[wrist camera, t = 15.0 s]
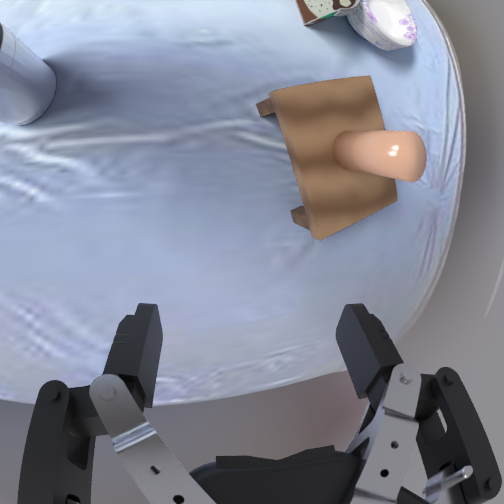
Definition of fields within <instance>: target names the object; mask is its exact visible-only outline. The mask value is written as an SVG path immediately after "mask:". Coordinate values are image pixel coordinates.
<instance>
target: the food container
mask: <svg viewBox="0 0 504 504" xmlns="http://www.w3.org/2000/svg"><path fill="white" fill-rule="evenodd" d="M359 1H360V0H295V3H296V5H297V8H298V11H299V13H300V16H301V19H302V21H303V24H304V26H305V25H312V24H314V23H317V22H319V21H322V20H324V19H326V18H329V17H331V16H344V15H347V14H349V13H350V12H352V11H353V10H354V9H355V8H356V7H357V5H358V3H359Z"/></svg>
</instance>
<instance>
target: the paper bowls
mask: <svg viewBox="0 0 504 504" xmlns="http://www.w3.org/2000/svg"><path fill="white" fill-rule="evenodd" d="M347 18H348V20H349V22H350V24H351V26H352V27H353V28H354V29H355V31H356V32H357V33H358V34H359V35H361V36H362V37H363V38H365V39H366V40H367V41H369V42H370V43H371V44H373V45H374V46H376V47H378V48H380V49H383V50H386V51H391V50H396V49H400V48H405V47H409V46H411V45H413V44H414V43H415V41H416V39H417V26H416V22H415V19H414V17H413V14H412V12H411V10H410V8H409V7H408V5H407V4H406V2H405V1H404V0H360V1H359V3H358V5H357V7H356V8H355V9H354V10H353V11H352V12H350V13H349V14H347Z"/></svg>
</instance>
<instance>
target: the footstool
mask: <svg viewBox="0 0 504 504" xmlns="http://www.w3.org/2000/svg"><path fill="white" fill-rule="evenodd" d="M269 96H270V98H269V99H266V100H264V101H262V102H260V103H258V104H256V105H257V108H258V111H259V114H260V117H262V116H265V115H269V114H272V113H276V116H277V119H278V122H279V125H280V128H281V131H282V134H283V137H284V140H285V144H286V147H287V150H288V153H289V156H290V160H291V163H292V166H293V170H294V173H295V176H296V180H297V183H298V187H299V190H300V194H301V197H302V201H303V205H304V207H303V206H300V207H298V208H296V209H293V210H291V214H292V218H293V221H294V223H296V224H298V225H300V226H302V227H304V228H307V229H309V230H310V231H311V235H312V237H313V238H315V239H317V240H319V241H320V240H322V239H324V238H326V237H328V236H330V235H332V234H334V233H336V232H338V231H340V230H342V229H344V228H346V227H348V226H350V225H352V224H354V223H356V222H357V221H359V220H361V219H363V218H365V217H367V216H369V215H371V214H373V213H375V212H377V211H379V210H380V209H382V208H384V207H386V206H388V205H390V204H392V203H394V202H396V201H397V200H398V199H397V191H396V185H395V179H393V178H389V177H383V176H378V175H373V174H367V173H362V172H356V171H350V170H345V169H343V168H341V167H340V166H339V165H338V164H337V162H336V160H335V158H334V154H333V145H334V141H335V139H336V137H337V136H338V135H339V134H340V133H341V132H344V131H359V130H384V131H385V127H384V123H383V119H382V115H381V111H380V107H379V104H378V100H377V96H376V93H375V90H374V86H373V83H372V80H371V77H370V76H359V77H350V78H342V79H334V80H327V81H321V82H314V83H309V84H303V85H298V86H293V87H288V88H283V89H279V90H275V91H273V92H271V93H269Z"/></svg>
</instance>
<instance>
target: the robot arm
mask: <svg viewBox="0 0 504 504" xmlns="http://www.w3.org/2000/svg"><path fill="white" fill-rule="evenodd" d="M55 90H56V77H55V74H54V72H53V70H52V69H51V68H50V67H49V66H48V65H47V64H46V63H45V62H43V61H42V59H41V58H40V57H38V56H37V55H36V54H35V53H34V52H33V51H32V50H31V49H30V48H29V47H27V46H26V45H25V44H24V43H23V42H22V41H21V40H20V39H19V38H17V37H16V36H15V35H14V34H13V33H12V32H10V31H9V30H8V29H7V28H6V27H5V26H4V25H2V24H1V23H0V122H5V123H11V124H16V125H26V124H29V123H31V122H33V121H35V120H36V119H38V118H39V117H40V116H41V115H42V114H43V113H44V112H45V111H46V109H47V108H48V106H49V105H50V103H51V101H52V99H53V97H54V94H55ZM162 340H163V334H162V327H161V322H160V316H159V311H158V306H157V304H145V303H139V304H138V306H137V309H136V312H135V315H126V317H125V318H124V319H123V320H122V321H121V322H120V323H119V326H118V329H117V331H116V335H115V337H114V340H113V343H112V346H111V349H110V352H109V355H108V359H107V362H106V365H105V368H104V371H103V374H102V375H101V376H99V377H97V378H96V379H95V380H94V381H93V382H92V383H91V385H88V386H83V387H75V388H68V387H67V386H66V385H65V384H64V383H63V382H61V381H58V380H52V381H49V382H47V383H45V384H44V385H43V386H42V387H41V389H40V391H39V394H38V397H37V400H36V404H35V407H34V411H33V415H32V418H31V422H30V426H29V430H28V435H27V440H26V444H25V449H24V454H23V460H22V466H21V473H20V481H19V490H18V502H17V504H91V503H90V502H91V481H92V468H93V457H94V448H95V439H96V436H99V435H108V434H109V436H110V437H111V439H112V441H113V447H114V449H115V451H116V453H117V454H118V456H119V458H120V459H121V461H122V463H123V464H124V466H125V467H126V469H127V470H128V472H129V473H130V475H131V477H132V478H133V479H134V481H135V482H136V484H137V485H138V487H139V488H140V489H141V491H142V492H143V493H144V495H145V496H146V498H147V499H148V500H149V502H150V503H151V504H482V503H484V502H486V501H488V500H490V499H492V498H494V497H495V496H496V495H497V494H498V492H499V491H500V488H501V484H502V479H501V474H500V471H499V468H498V465H497V462H496V459H495V456H494V454H493V451H492V448H491V446H490V443H489V440H488V438H487V435H486V433H485V431H484V428H483V425H482V423H481V421H480V419H479V417H478V414H477V412H476V410H475V407H474V405H473V403H472V401H471V399H470V397H469V395H468V393H467V391H466V389H465V387H464V385H463V383H462V381H461V379H460V377H459V375H458V374H457V372H455V371H454V370H453V369H451V368H449V367H443V368H440V369H439V370H438V371H437V373H436V374H435V375H430V374H420V373H419V371H418V370H417V369H416V368H415V367H413V366H412V365H410V364H405V363H404V362H403V361H402V359H401V357H400V355H399V353H398V351H397V349H396V348H395V346H394V344H393V342H392V340H391V338H389V335H388V333H387V331H385V328H384V326H383V324H382V323H381V321H380V320H379V319H378V318H377V317H375V316H374V315H373V314H369V312H368V311H367V309H366V307H365V306H364V304H362V303H360V304H347V305H345V307H344V310H343V312H342V315H341V318H340V320H339V323H338V326H337V329H336V340H337V343H338V346H339V348H340V351H341V353H342V356H343V359H344V361H345V364H346V366H347V369H348V371H349V374H350V377H351V380H352V382H353V385H354V388H355V390H356V393H357V396H358V398H359V399H362V398H367V397H368V399H369V403H368V404H367V407H366V409H365V412H364V414H363V417H362V419H361V422H360V424H359V427H358V429H357V432H356V434H355V436H354V438H353V440H352V441H351V443H350V444H349V446H348V447H347V449H346V451H345V452H341V451H335V449H334V445H331V446H325V447H320V448H314V449H307V450H305V451H302V452H300V453H297V454H294V455H291V456H289V457H286V458H283V459H280V460H273V459H264V458H258V457H252V456H216V462H212V463H208V464H205V465H202V466H200V467H198V468H196V469H194V470H193V471H191V472H190V473H188V472H187V471H186V470H185V469H184V468H183V466H182V465H181V464H180V463H179V461H178V460H177V459H176V458H175V456H173V454H172V453H171V451H170V450H169V449H168V447H167V446H166V445H165V443H164V442H163V441H162V439H161V438H160V437H159V435H158V434H157V432H156V431H155V430H154V428H153V427H152V426H151V425H150V423H149V422H148V421H147V419H146V418H145V416H144V415H143V411H144V407H146V408H152V404H153V397H154V390H155V383H156V377H157V370H158V364H159V358H160V353H161V347H162ZM439 409H440V410H441V412H442V414H443V417H444V419H445V422H446V424H447V431H446V433H445V430H444V428H443V425H442V423H441V420H440V418H439V416H438V413H437V411H438V410H439ZM415 439H416V441H417V445H418V448H419V451H420V454H421V457H422V460H423V464H424V467H425V471H426V474H427V478H428V481H427V484H426V487H425V488H424V489H423V491H422V495H423V496H424V497H425V500H424V499H423V498H421V497H419V496H418V495H416V494H414V493H412V492H411V491H409V490H408V489H406V488H404V487H403V486H401V485H402V482H403V479H404V476H405V473H406V470H407V467H408V464H409V461H410V458H411V454H412V451H413V447H414V443H415Z"/></svg>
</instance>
